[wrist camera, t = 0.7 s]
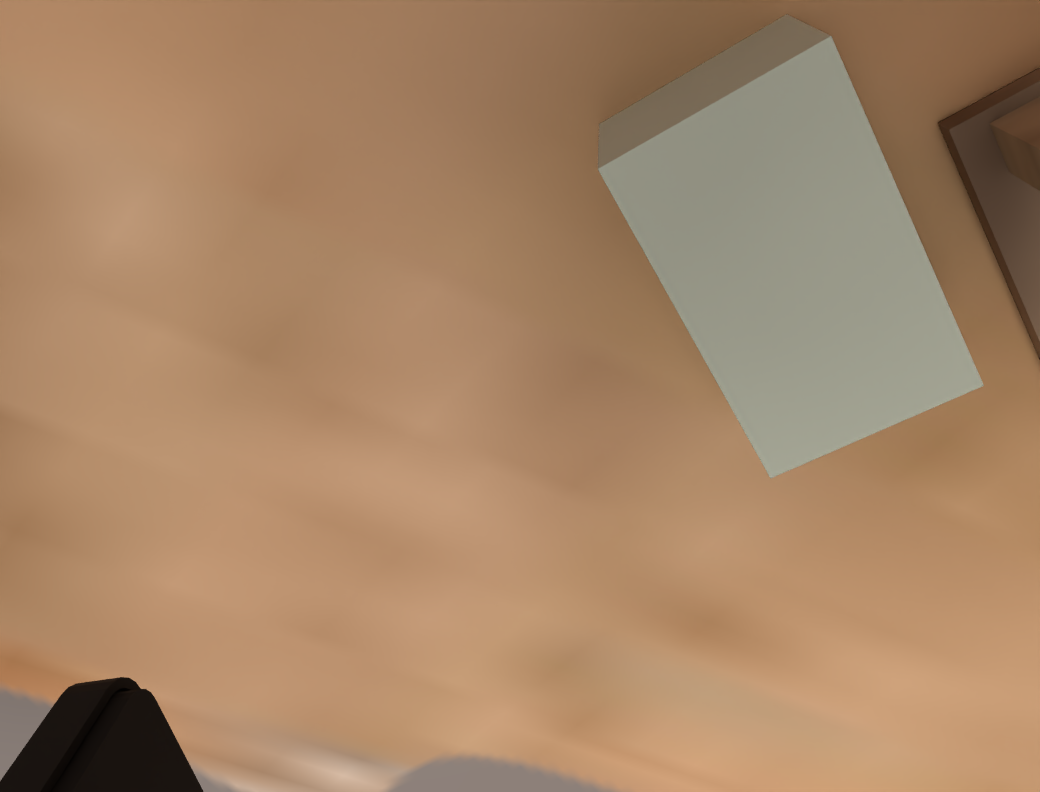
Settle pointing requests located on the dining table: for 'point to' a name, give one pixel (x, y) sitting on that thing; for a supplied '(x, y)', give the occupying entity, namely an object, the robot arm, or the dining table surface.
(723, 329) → the grey green block
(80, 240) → the dining table surface
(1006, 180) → the peg stand
